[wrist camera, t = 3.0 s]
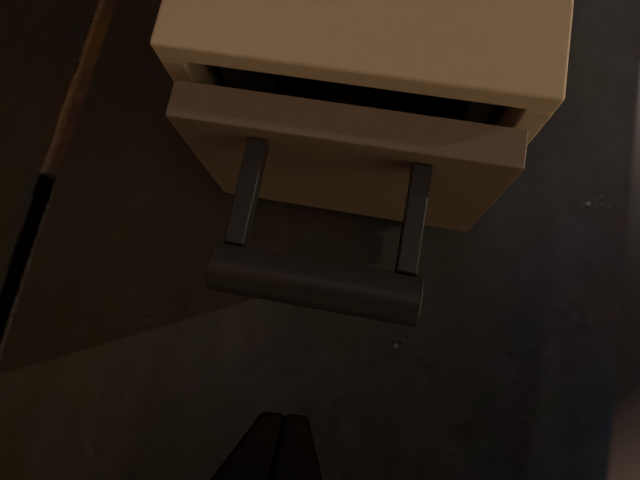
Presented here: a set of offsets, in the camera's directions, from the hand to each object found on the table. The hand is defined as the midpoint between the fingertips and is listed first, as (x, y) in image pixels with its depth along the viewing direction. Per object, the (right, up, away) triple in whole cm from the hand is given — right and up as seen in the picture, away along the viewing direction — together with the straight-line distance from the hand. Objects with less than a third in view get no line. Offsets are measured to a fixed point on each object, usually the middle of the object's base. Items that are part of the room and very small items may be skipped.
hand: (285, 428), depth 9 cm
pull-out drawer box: (+2, +8, +13) cm, 16 cm away
